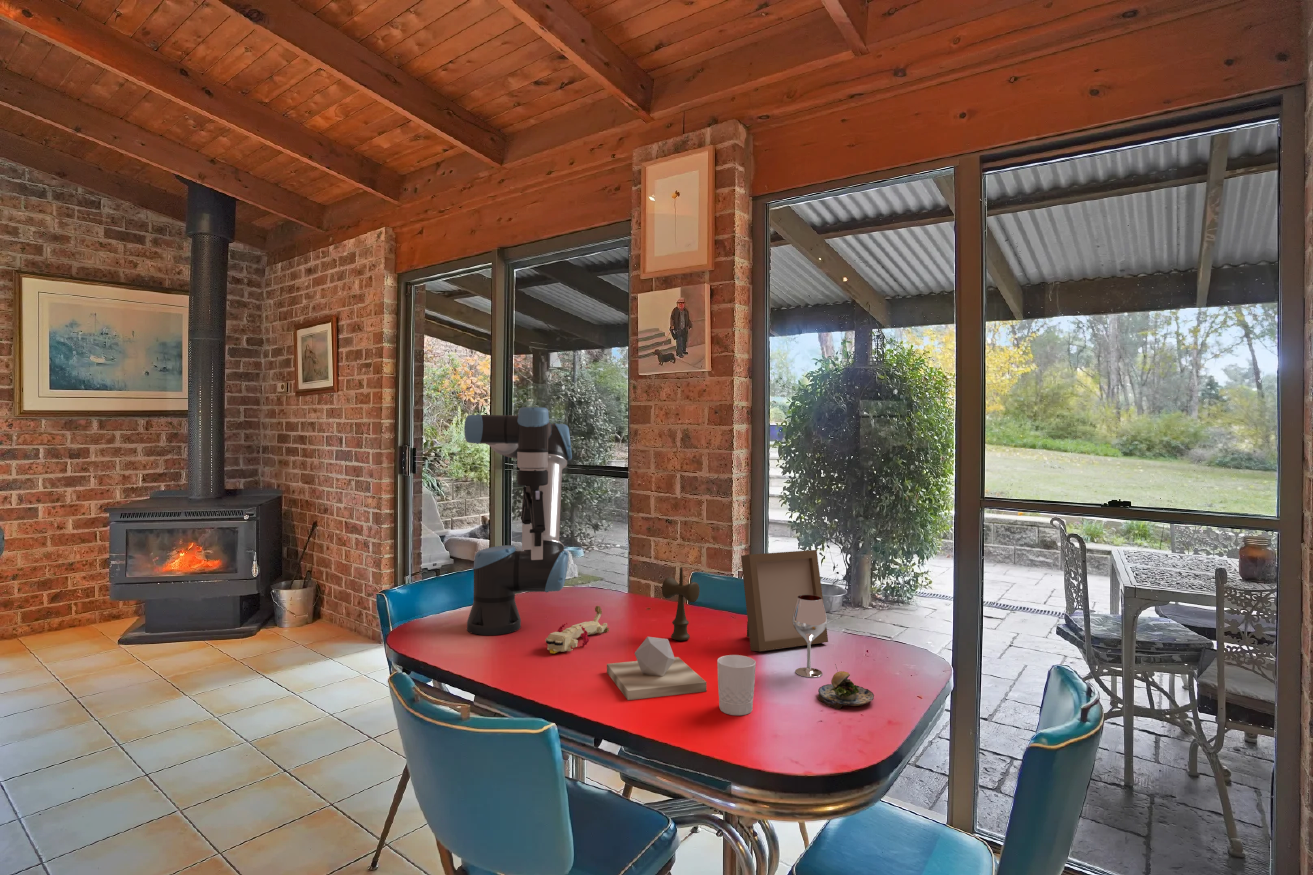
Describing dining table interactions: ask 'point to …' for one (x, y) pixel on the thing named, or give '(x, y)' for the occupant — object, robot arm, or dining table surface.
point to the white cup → (736, 684)
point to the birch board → (655, 680)
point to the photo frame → (778, 596)
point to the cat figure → (575, 634)
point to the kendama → (680, 603)
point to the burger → (843, 692)
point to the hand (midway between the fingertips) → (532, 554)
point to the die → (655, 656)
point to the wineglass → (809, 626)
